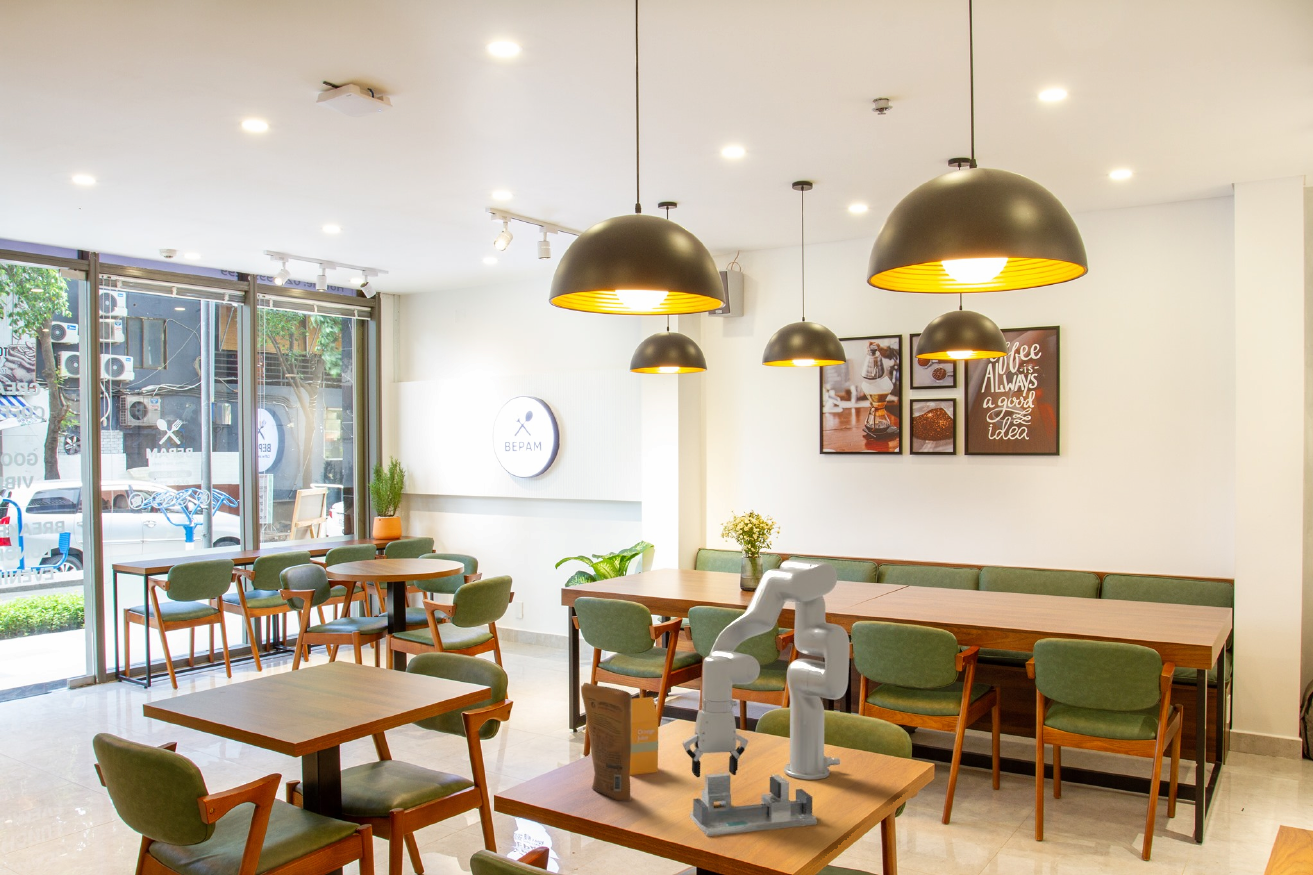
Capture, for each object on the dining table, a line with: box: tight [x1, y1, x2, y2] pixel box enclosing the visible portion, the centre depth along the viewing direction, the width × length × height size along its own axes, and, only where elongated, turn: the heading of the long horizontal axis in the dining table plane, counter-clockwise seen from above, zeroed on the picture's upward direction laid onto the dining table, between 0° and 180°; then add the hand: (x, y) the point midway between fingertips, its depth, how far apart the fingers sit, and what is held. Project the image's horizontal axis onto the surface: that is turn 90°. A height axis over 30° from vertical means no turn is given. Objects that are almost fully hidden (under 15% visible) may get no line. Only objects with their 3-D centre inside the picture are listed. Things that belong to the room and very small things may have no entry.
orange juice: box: [630, 696, 659, 776], centre depth 265 cm, size 8×9×20 cm
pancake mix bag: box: [580, 682, 633, 802], centre depth 245 cm, size 7×19×28 cm, turn 39°
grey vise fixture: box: [689, 774, 818, 837], centre depth 227 cm, size 29×12×10 cm, turn 107°
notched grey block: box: [701, 772, 732, 809], centre depth 237 cm, size 5×6×8 cm
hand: (714, 774), depth 236 cm, fingers open, 9 cm apart
